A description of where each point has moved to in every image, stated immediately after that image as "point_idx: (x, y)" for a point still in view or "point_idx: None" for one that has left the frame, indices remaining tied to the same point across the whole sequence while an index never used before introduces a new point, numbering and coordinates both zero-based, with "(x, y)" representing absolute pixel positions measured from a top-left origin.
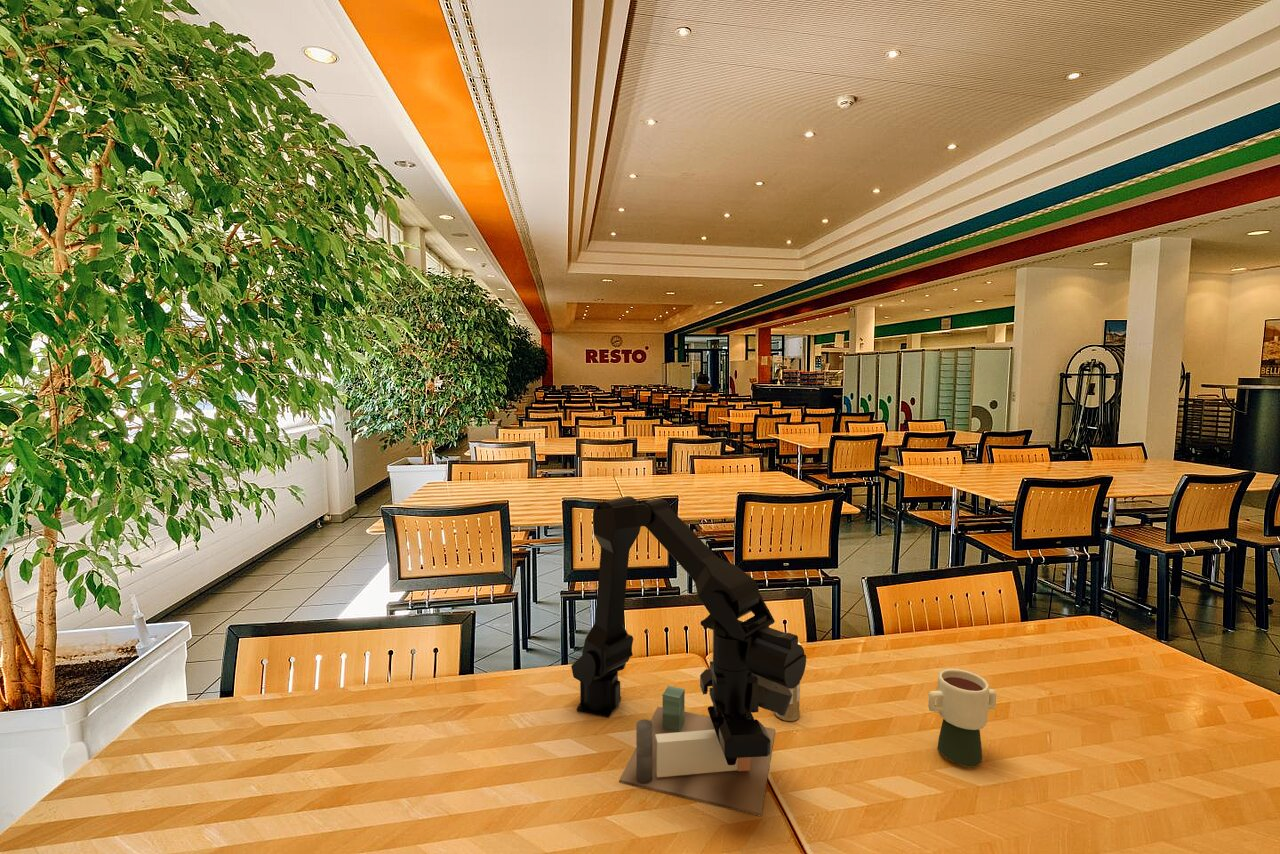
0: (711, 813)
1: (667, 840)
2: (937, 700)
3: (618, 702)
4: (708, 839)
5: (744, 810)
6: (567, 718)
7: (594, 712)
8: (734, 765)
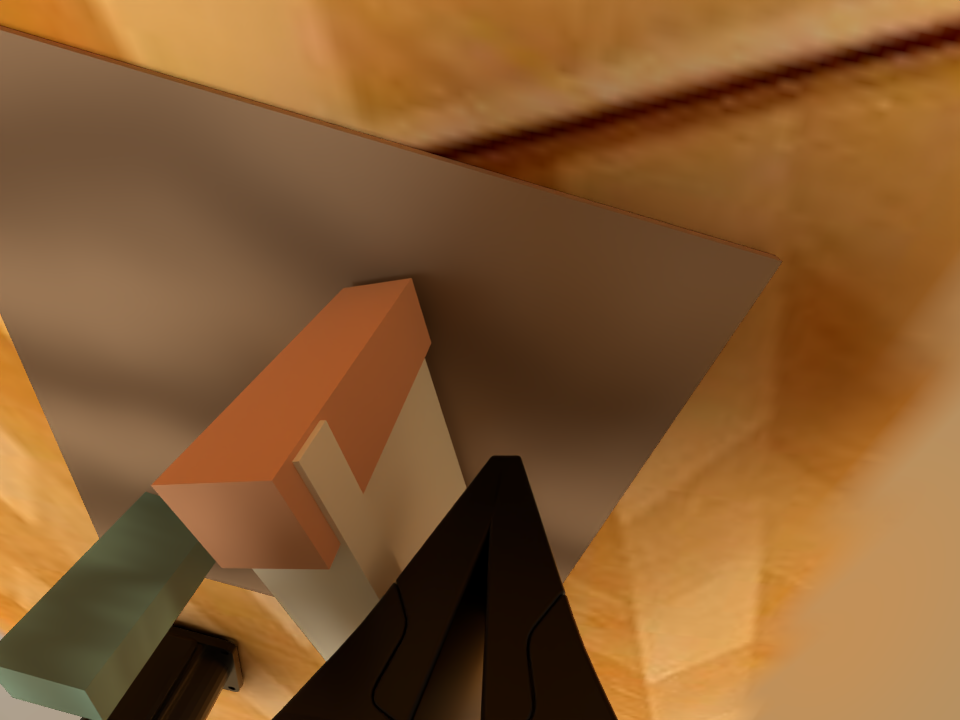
0: (690, 469)
1: (792, 596)
2: None
3: (163, 643)
4: (841, 498)
5: (719, 344)
6: (277, 693)
7: (234, 670)
8: (418, 378)
